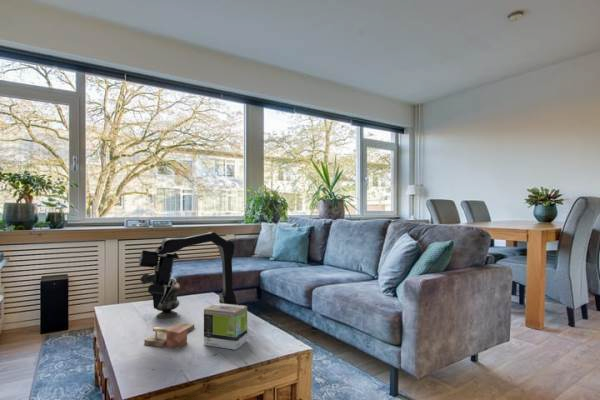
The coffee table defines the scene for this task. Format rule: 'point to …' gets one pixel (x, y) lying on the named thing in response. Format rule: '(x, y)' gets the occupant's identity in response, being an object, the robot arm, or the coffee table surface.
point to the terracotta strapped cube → (173, 336)
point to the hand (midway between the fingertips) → (158, 305)
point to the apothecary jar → (169, 303)
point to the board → (161, 337)
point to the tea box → (225, 325)
